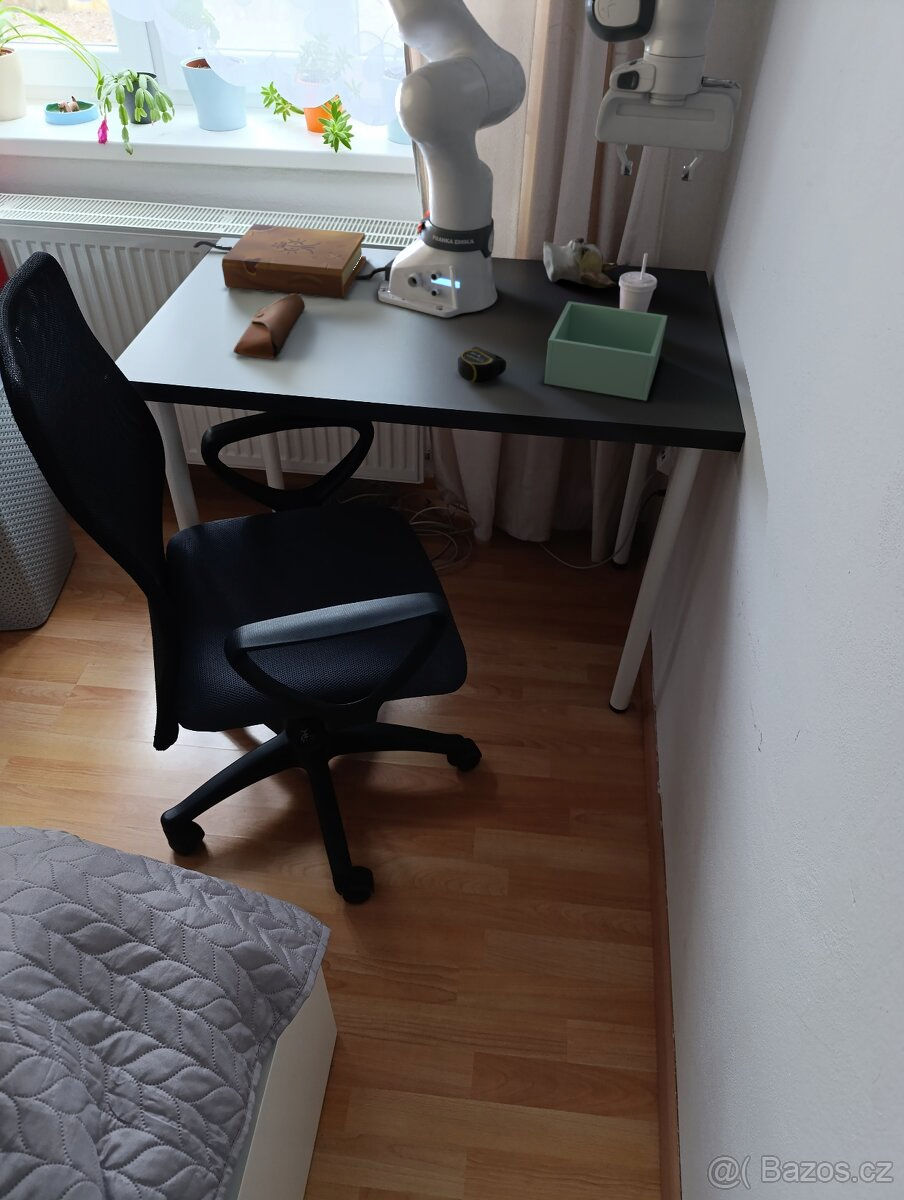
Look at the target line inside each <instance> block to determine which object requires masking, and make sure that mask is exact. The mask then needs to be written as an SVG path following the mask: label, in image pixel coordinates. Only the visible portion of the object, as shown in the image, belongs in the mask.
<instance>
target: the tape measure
mask: <svg viewBox="0 0 904 1200" xmlns="http://www.w3.org/2000/svg"><path fill="white" fill-rule="evenodd" d="M506 368H507V360H506V359H504V357H501V356H500V355H498V354H496V353H493V352H491V351H488V350H486V349H484V348H482V347H479V346H476V345H475V346H473V347H471V349H466V350H464V351H462V352H461V354H460V356H459V357H458V358H457V372H458V374H459V376H460V377H461V378H462V379H463V380H466V381H467V382H471V383H476V384H486V383H490V382H492V381H494V380H495V379H497V377H498V376H500V375H502V374H504V373H505V371H506Z"/></svg>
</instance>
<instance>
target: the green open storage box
mask: <svg viewBox="0 0 904 1200" xmlns="http://www.w3.org/2000/svg"><path fill="white" fill-rule="evenodd" d="M667 320H668V315H665V314H659V313H650V312H647V313H646V312H639V311H632V310H625V309H620V308H618V307H610V306H604V305H597V304H591V303H583V302H576V301H569V300H568V301H567V303H566V305H565V306H564V309H563V310H562V313H561V314H560V316H559V318H558V321H557V322H556V324H555V326H554V328H553V330H552V332H551V334H550V336H549V338H548V341H547V352H546V353H547V354H546V361H545V371H544V384H546V385H551V386H557V387H564V388H569V389H575V390H581V391H586V392H592V393H599V394H604V395H611V396H617V397H622V398H628V399H633V400H634V399H635V400H640V401H647V400H648V398H649V395H650V391H651V387H652V383H653V381H654V376H655V373H656V371H657V367H658V363H659V360H660V355H661V350H662V346H663V340H664V336H665V330H666V326H667V325H666V324H667Z"/></svg>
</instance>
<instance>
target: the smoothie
mask: <svg viewBox="0 0 904 1200" xmlns="http://www.w3.org/2000/svg"><path fill="white" fill-rule="evenodd" d="M648 254H649V253H648V252H645V253H644V254H643V260H642V266H641V271H628V272H625V273H622V274H621V275H620V276H619V281H618V286H619V288H620V291H619V309H625V310H632V311H639V312H646V313H648V309H649V306H650V302H651V299H652V297H653V294H654V291H655V289H657V284H658V280H657V278H656V277H655V275H653V274H650V273H647V272H646V268H647V267H646V266H647V262H648Z"/></svg>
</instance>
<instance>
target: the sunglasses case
mask: <svg viewBox="0 0 904 1200" xmlns="http://www.w3.org/2000/svg"><path fill="white" fill-rule="evenodd" d="M305 308H306V302H305V300H304V298H303V297H302V295H301V294H297V293H293V294H290V293H289V294H288V295H285V296H283V297H281V298H279V299H278V300H276V301H274V302H273V303H271V304H269V305H266V306H264V307H262V308H261V309H260V310H259V311H257V313H256V314H255V315H254V316H253V317H252V319H251V323H250V324H249V325H248V326H247V328H246V329H245V331H244V333H243V334H242V335H241V337H240V338H239V340H238V341H237V342H236V344H235V347H234V349H233V353H235V354H236V355H238V356H242V357H243V356H244V357H249V358H254V359H264V360H274V359H276V358H277V357H278V356H279V355H280V354H281V352H282V351H283V348H284V346H285V344H286V342H287V340H288V339H289V336H290V334H291V333H292V331H293V329H294V327H295V325H296V324H297V322H298V321H299V319H300V317H301V315H302V314H303V312H304V310H305Z"/></svg>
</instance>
